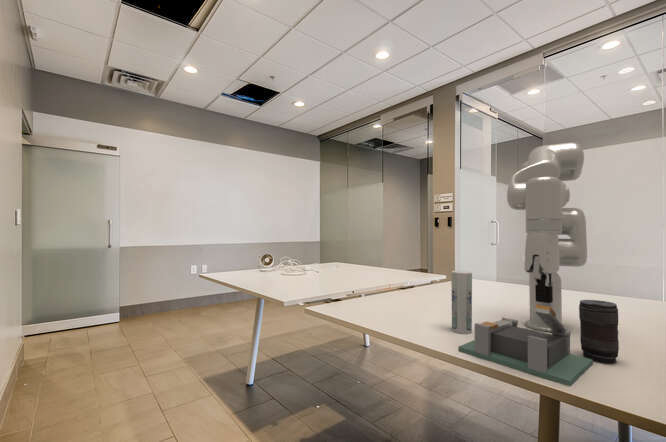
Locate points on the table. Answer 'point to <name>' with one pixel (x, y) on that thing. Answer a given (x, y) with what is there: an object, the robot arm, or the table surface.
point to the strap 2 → (549, 318)
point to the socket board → (529, 352)
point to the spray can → (461, 302)
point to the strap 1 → (498, 325)
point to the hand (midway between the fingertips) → (544, 301)
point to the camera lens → (599, 330)
